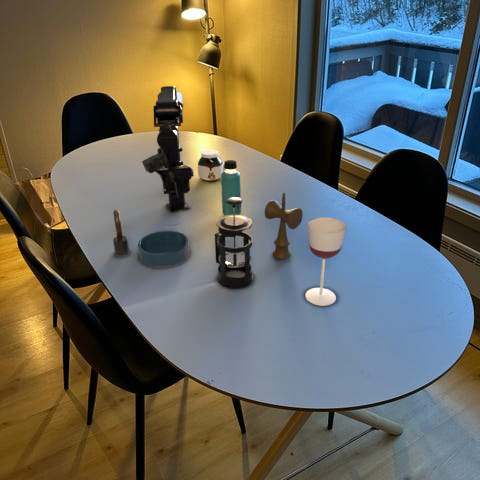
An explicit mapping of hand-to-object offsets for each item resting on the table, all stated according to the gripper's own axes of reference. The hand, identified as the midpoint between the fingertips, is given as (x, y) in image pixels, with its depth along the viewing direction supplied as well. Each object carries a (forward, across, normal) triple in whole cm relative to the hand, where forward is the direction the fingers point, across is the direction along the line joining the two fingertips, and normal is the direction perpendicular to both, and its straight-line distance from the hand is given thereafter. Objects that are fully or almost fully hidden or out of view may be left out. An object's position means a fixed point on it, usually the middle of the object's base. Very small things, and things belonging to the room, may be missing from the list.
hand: (173, 195), depth 138 cm
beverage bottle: (+12, -1, +21) cm, 24 cm away
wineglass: (+18, +50, +17) cm, 55 cm away
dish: (+14, +10, -8) cm, 20 cm away
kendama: (+15, +29, +20) cm, 38 cm away
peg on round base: (+14, +3, -19) cm, 24 cm away
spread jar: (+7, -36, +33) cm, 50 cm away
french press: (+16, +31, +3) cm, 35 cm away
